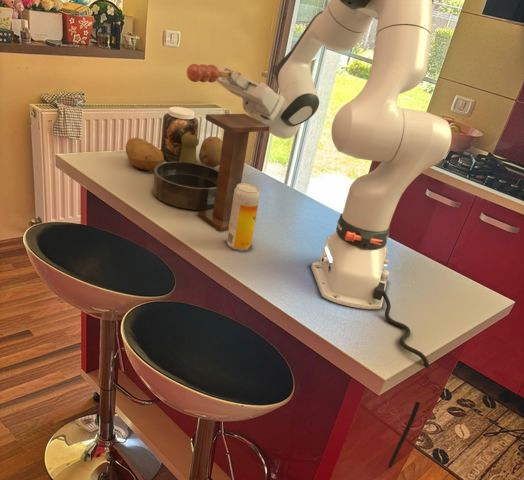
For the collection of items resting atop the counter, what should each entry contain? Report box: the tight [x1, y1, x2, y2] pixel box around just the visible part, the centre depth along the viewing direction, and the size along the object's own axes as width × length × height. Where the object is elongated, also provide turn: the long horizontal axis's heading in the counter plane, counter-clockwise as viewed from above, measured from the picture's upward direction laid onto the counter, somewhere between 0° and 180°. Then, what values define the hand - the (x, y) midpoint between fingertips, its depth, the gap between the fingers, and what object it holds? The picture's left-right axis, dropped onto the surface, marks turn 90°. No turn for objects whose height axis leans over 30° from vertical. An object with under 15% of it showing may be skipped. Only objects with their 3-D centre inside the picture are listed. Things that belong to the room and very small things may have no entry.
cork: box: [179, 134, 199, 163], centre depth 169 cm, size 6×6×11 cm
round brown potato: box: [198, 136, 223, 169], centre depth 175 cm, size 9×9×10 cm
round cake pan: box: [152, 161, 219, 211], centre depth 153 cm, size 20×20×6 cm
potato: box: [125, 137, 165, 172], centre depth 164 cm, size 10×14×8 cm
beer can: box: [226, 182, 261, 251], centre depth 131 cm, size 6×6×15 cm
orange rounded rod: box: [186, 63, 242, 83], centre depth 137 cm, size 16×4×4 cm, turn 131°
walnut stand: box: [197, 113, 270, 232], centre depth 139 cm, size 12×10×26 cm
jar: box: [160, 106, 199, 162], centre depth 176 cm, size 12×12×15 cm
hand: (227, 72), depth 139 cm, fingers closed on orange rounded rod, 2 cm apart
